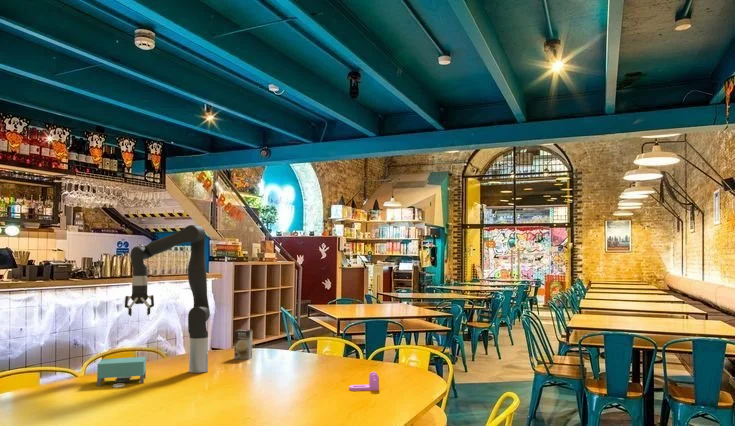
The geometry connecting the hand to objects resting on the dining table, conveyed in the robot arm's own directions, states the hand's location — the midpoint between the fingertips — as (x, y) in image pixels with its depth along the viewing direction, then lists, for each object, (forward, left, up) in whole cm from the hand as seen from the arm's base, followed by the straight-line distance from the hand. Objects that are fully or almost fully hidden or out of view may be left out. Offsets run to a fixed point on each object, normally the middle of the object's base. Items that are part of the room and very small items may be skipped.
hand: (139, 315), depth 311 cm
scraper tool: (+5, +14, -28) cm, 32 cm away
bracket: (-100, +77, -28) cm, 130 cm away
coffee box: (-55, -16, -28) cm, 64 cm away
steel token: (+5, +38, -28) cm, 48 cm away
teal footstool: (+5, +27, -28) cm, 40 cm away
